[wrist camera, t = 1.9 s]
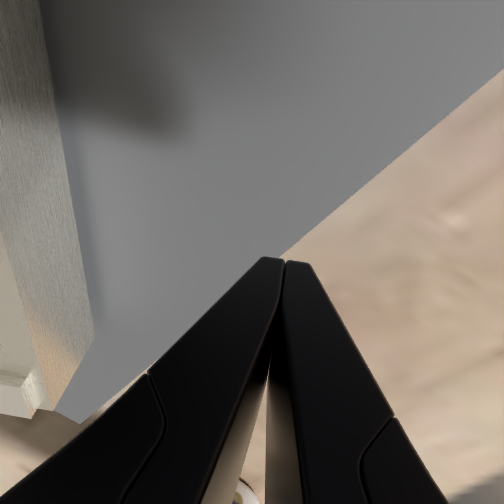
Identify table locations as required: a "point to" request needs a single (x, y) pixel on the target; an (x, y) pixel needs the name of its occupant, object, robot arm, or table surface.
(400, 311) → the table surface
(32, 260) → the pointer
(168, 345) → the dial plate
